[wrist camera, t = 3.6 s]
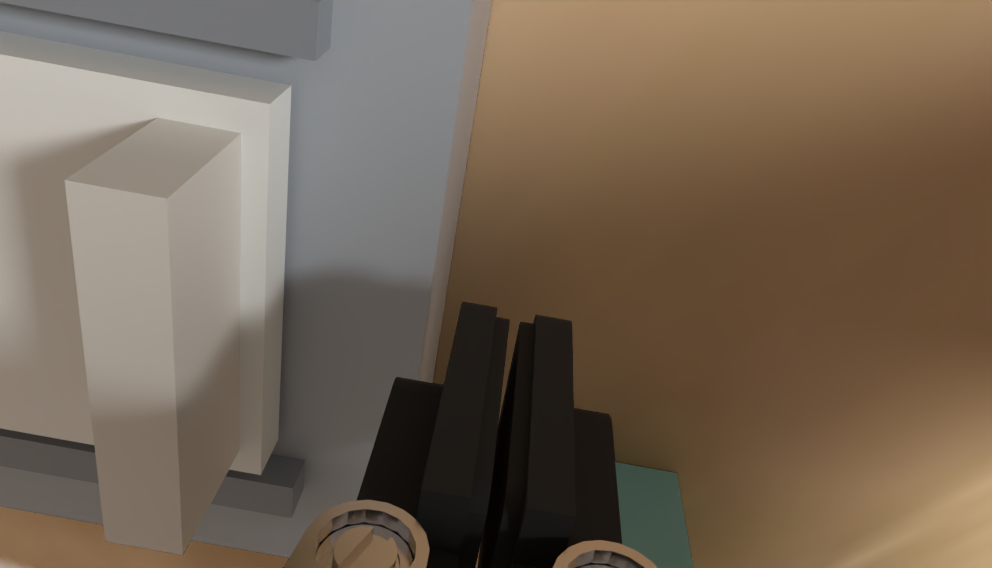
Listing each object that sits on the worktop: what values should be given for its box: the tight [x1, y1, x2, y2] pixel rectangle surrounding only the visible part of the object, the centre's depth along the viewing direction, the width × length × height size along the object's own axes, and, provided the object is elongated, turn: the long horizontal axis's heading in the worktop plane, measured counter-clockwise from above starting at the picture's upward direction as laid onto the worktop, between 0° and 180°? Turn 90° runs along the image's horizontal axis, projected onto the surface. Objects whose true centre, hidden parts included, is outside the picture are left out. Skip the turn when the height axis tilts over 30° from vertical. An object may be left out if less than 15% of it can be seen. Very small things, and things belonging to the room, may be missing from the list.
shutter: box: [0, 31, 292, 555], centre depth 12 cm, size 7×7×3 cm
